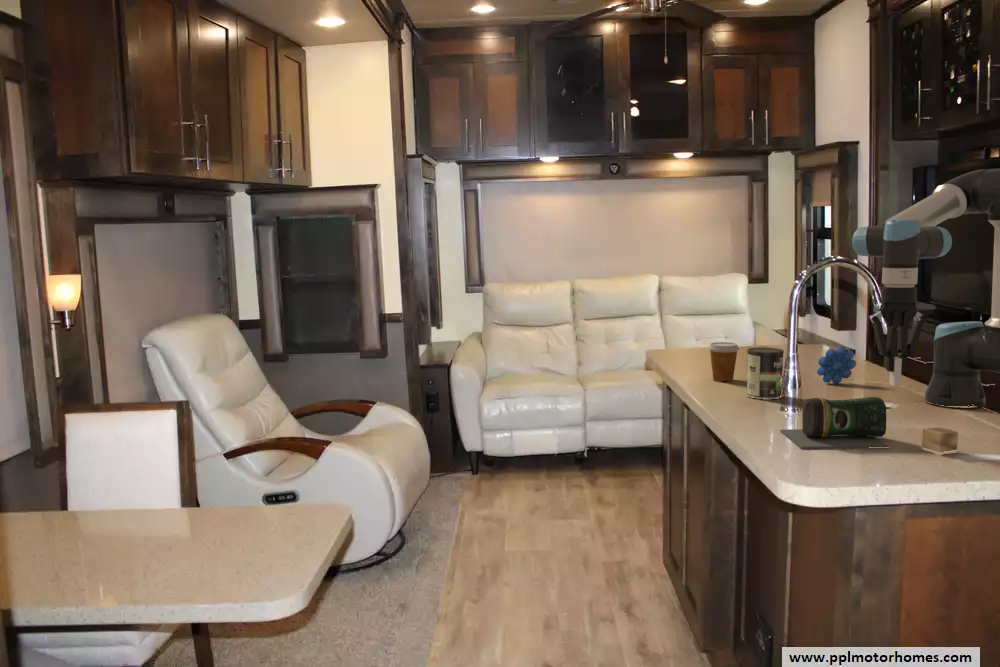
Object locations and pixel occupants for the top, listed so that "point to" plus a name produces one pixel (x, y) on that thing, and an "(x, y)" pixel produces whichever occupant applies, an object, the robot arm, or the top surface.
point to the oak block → (939, 439)
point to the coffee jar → (844, 417)
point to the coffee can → (764, 373)
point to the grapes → (836, 365)
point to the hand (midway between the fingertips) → (894, 384)
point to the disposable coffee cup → (723, 360)
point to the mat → (831, 440)
